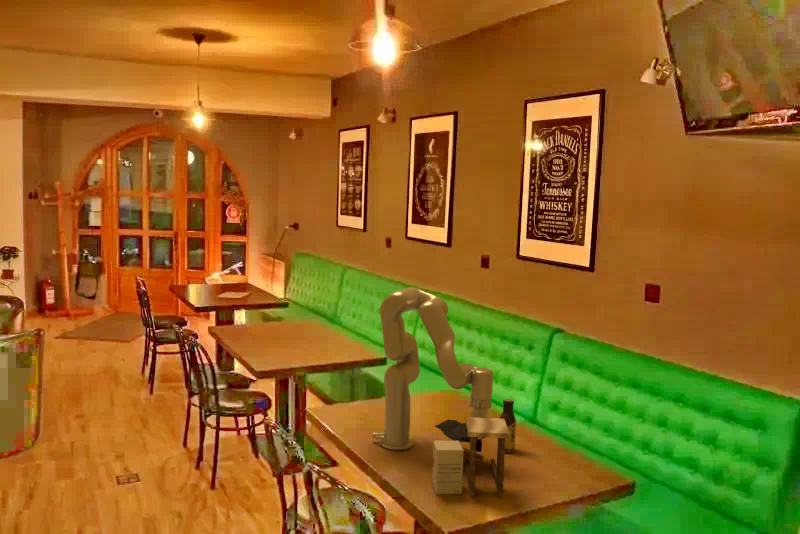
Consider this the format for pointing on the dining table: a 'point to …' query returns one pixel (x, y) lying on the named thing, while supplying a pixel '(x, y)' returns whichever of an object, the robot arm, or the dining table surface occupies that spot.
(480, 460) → the tin
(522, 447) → the dining table surface
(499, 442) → the miniature wooden stool
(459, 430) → the dark slate chunk
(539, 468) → the dining table surface
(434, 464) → the supplement box
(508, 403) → the sauce bottle
